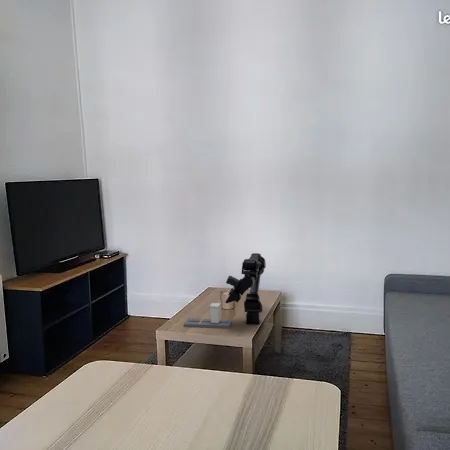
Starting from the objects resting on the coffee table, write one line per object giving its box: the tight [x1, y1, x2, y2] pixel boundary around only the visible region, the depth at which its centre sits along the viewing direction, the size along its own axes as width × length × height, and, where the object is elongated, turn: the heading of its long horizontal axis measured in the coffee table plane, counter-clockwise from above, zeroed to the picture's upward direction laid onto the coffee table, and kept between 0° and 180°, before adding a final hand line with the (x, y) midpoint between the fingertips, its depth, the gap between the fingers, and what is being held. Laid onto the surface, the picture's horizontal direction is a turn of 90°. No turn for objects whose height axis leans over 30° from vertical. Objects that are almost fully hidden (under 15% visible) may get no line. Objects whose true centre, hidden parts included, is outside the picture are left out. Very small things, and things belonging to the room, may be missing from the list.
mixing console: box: [183, 317, 233, 329], centre depth 241 cm, size 24×9×2 cm, turn 80°
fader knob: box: [209, 302, 222, 323], centre depth 239 cm, size 5×6×9 cm
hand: (225, 302), depth 238 cm, fingers closed
